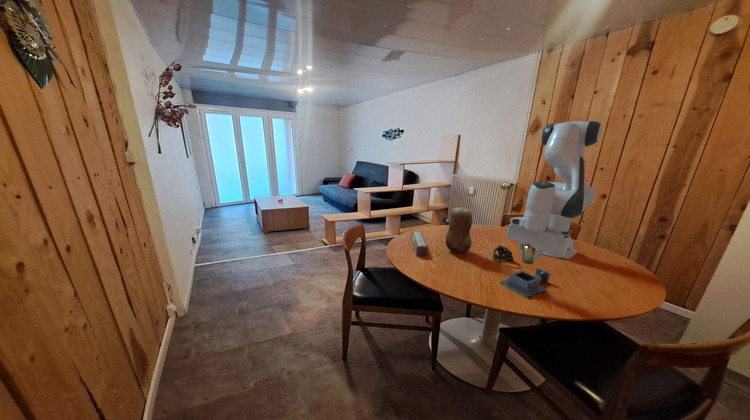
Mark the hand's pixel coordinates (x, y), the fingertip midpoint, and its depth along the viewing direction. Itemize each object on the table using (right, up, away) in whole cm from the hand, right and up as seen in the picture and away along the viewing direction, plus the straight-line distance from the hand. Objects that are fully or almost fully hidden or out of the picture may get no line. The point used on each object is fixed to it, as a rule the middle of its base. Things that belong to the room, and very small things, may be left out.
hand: (528, 256), depth 99 cm
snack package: (-37, -4, +40) cm, 55 cm away
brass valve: (0, -3, +1) cm, 3 cm away
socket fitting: (+3, -13, +5) cm, 15 cm away
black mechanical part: (+4, -7, +29) cm, 30 cm away
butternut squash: (-17, -5, +37) cm, 41 cm away
